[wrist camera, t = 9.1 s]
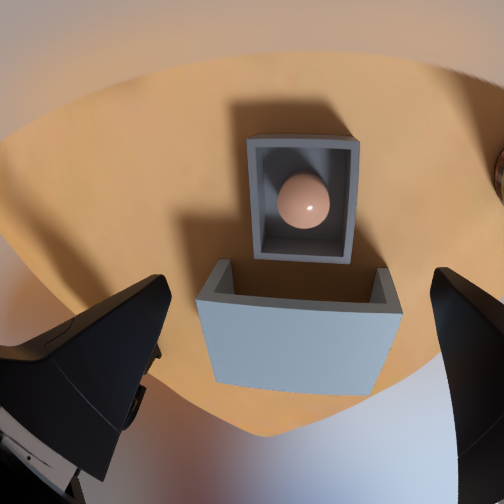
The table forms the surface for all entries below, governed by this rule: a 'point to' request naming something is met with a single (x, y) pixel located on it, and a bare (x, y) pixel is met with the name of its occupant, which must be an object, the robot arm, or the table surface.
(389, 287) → the grey small bench
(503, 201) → the sauce bottle
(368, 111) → the table surface
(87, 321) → the robot arm
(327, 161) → the tray
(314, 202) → the tan rounded dome
